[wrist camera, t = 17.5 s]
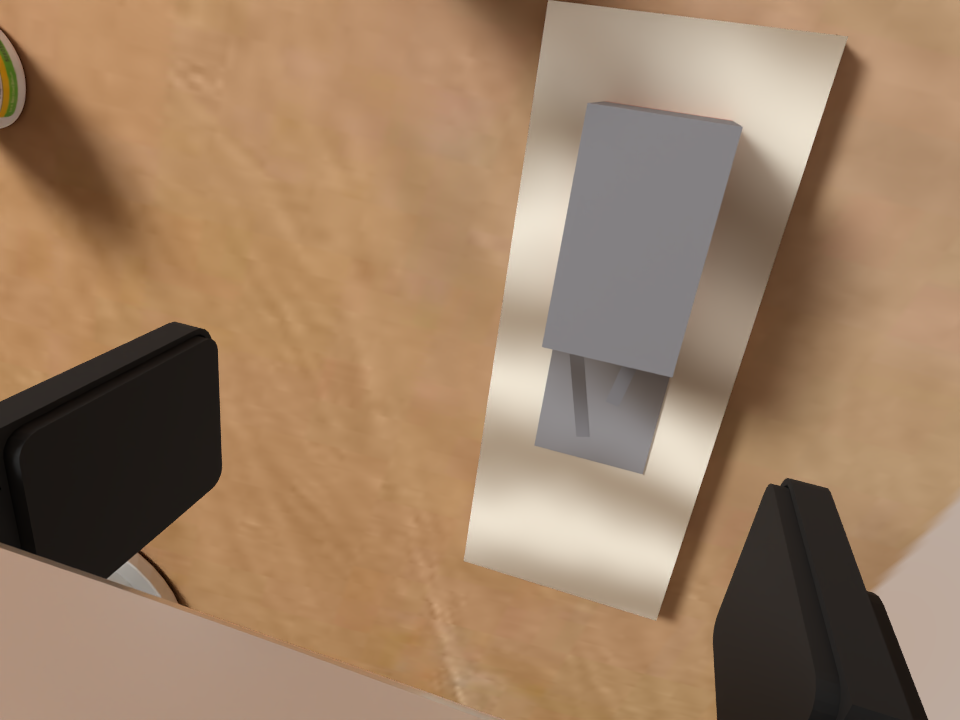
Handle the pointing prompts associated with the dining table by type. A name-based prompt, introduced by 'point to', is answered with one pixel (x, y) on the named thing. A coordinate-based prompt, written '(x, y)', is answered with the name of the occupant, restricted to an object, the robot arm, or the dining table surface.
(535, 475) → the board
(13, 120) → the supplement bottle
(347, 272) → the dining table surface
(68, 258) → the dining table surface
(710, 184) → the block
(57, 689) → the robot arm
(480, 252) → the dining table surface
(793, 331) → the dining table surface
